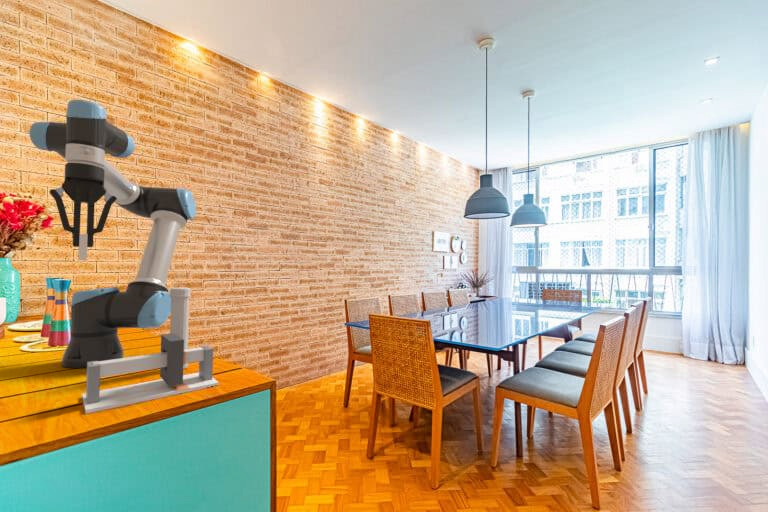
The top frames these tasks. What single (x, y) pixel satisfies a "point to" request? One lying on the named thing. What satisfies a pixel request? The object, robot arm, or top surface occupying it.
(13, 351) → the top surface
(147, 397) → the rail
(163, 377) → the collar
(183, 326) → the pipe
